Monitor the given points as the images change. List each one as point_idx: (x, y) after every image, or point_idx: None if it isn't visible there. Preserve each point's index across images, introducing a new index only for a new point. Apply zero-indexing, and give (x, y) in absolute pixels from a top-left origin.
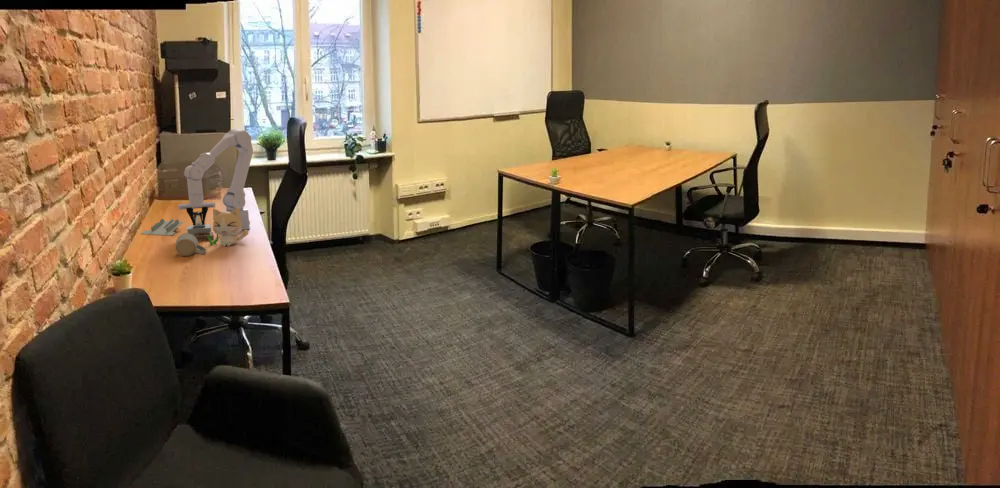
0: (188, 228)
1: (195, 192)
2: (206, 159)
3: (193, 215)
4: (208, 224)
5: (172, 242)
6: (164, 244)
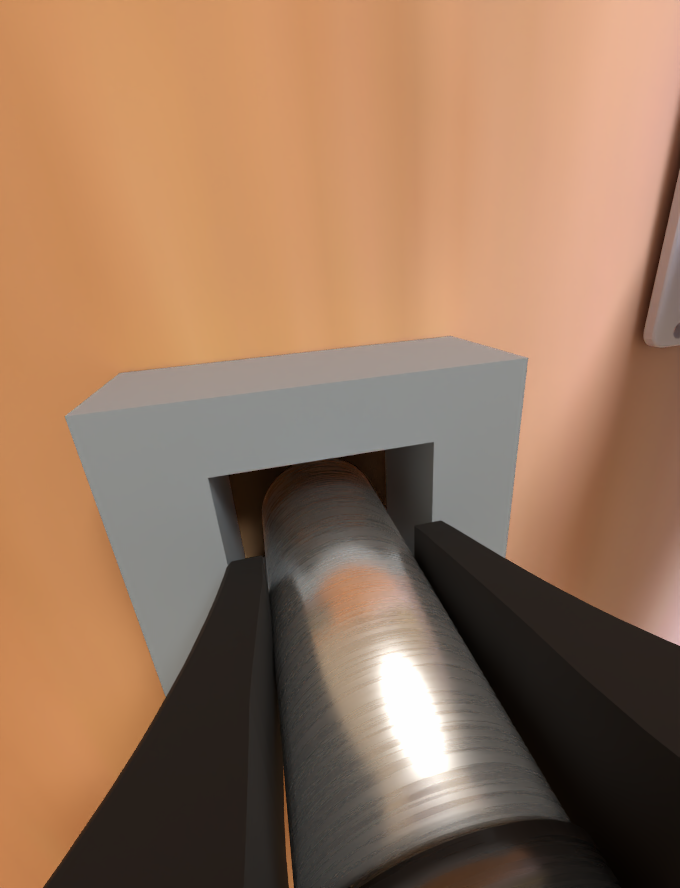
0: (165, 650)
1: None
2: None
3: (272, 864)
4: (491, 377)
5: (66, 780)
6: (7, 840)
